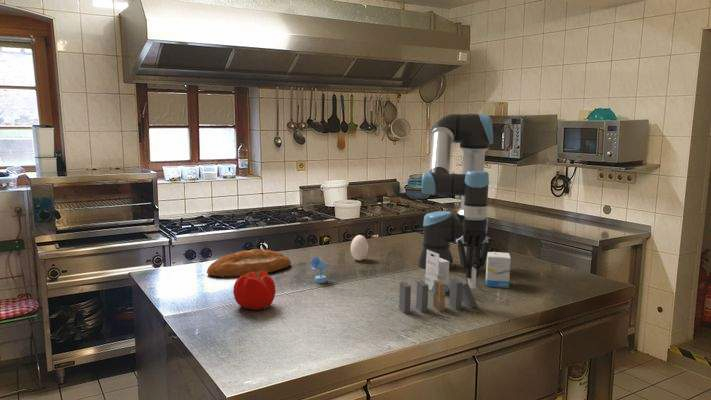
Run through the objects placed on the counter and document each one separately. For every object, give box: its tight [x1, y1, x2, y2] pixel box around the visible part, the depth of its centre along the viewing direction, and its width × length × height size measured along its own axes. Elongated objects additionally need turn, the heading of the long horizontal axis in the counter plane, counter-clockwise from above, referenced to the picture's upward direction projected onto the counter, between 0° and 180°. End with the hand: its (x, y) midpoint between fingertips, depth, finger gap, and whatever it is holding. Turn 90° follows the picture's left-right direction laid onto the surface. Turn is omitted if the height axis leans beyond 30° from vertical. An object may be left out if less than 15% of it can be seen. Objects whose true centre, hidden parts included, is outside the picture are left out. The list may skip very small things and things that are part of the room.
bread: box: [206, 248, 292, 278], centre depth 213 cm, size 18×35×9 cm, turn 119°
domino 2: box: [415, 280, 429, 313], centre depth 171 cm, size 5×2×9 cm, turn 15°
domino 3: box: [448, 278, 463, 311], centre depth 174 cm, size 5×2×9 cm, turn 15°
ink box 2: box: [485, 251, 512, 289], centre depth 200 cm, size 9×8×12 cm
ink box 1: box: [424, 249, 450, 294], centre depth 191 cm, size 8×5×15 cm, turn 26°
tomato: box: [232, 271, 276, 311], centre depth 171 cm, size 13×14×12 cm
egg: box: [350, 234, 369, 261], centre depth 231 cm, size 8×8×11 cm
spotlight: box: [309, 256, 329, 284], centre depth 200 cm, size 5×10×7 cm
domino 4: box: [458, 278, 478, 309], centre depth 175 cm, size 5×2×9 cm, turn 15°
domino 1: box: [398, 281, 412, 315], centre depth 170 cm, size 5×2×9 cm, turn 15°
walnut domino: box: [432, 280, 446, 312], centre depth 172 cm, size 5×2×9 cm, turn 15°
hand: (471, 287), depth 175 cm, fingers closed
